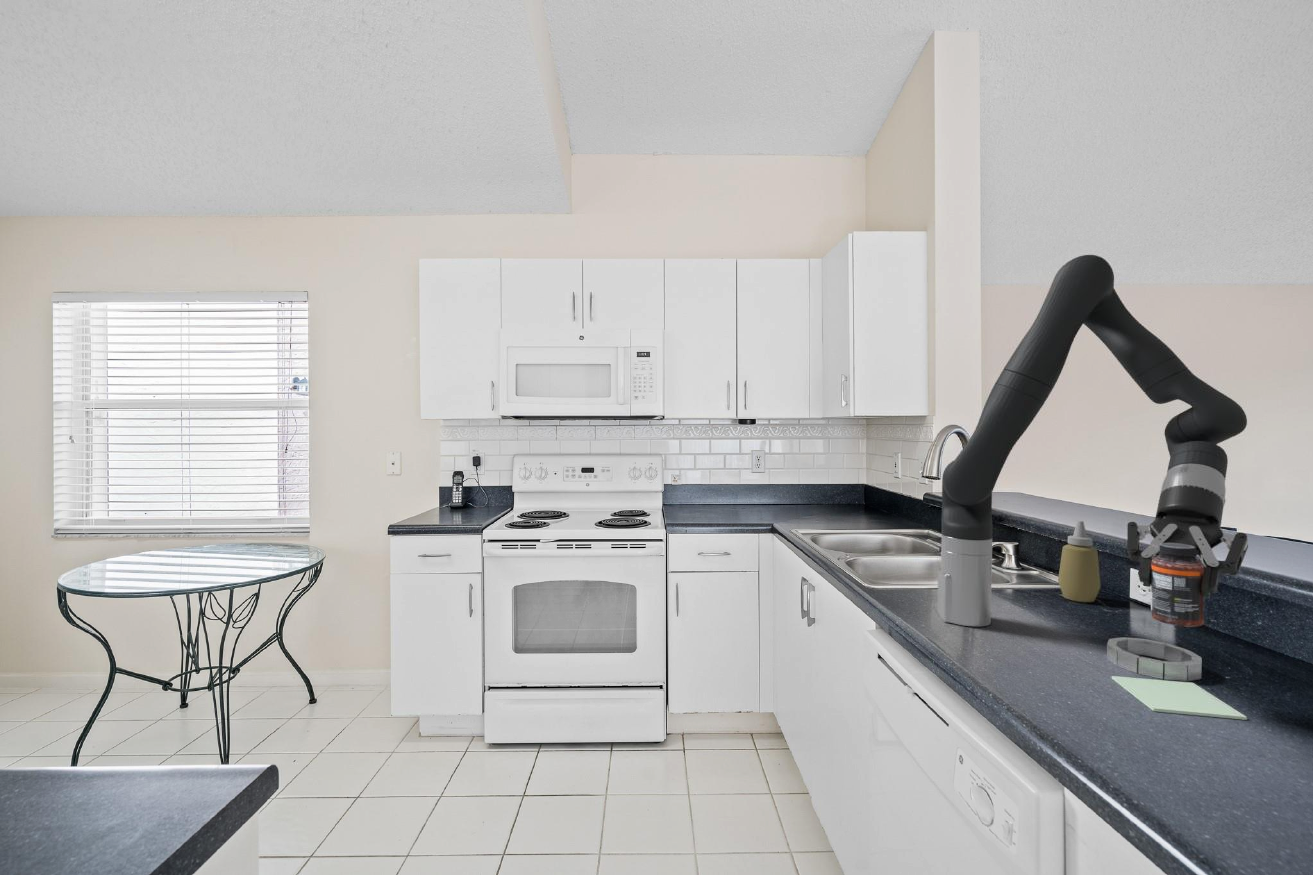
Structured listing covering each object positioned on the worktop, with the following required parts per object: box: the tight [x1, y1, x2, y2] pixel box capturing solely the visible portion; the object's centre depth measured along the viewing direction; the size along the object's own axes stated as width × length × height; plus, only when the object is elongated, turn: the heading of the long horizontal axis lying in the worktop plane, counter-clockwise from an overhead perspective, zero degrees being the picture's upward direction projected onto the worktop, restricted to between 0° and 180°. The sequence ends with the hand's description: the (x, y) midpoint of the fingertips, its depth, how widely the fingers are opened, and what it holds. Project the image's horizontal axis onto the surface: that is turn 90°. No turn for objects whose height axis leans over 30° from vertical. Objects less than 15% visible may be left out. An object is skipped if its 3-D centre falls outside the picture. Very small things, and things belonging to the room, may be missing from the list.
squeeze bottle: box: [1057, 520, 1101, 603], centre depth 137 cm, size 8×8×18 cm
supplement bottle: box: [1150, 543, 1206, 628], centre depth 87 cm, size 6×6×11 cm
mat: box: [1111, 675, 1248, 721], centre depth 88 cm, size 11×11×1 cm
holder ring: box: [1106, 636, 1203, 682], centre depth 99 cm, size 12×12×2 cm
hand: (1175, 587), depth 86 cm, fingers closed on supplement bottle, 6 cm apart
